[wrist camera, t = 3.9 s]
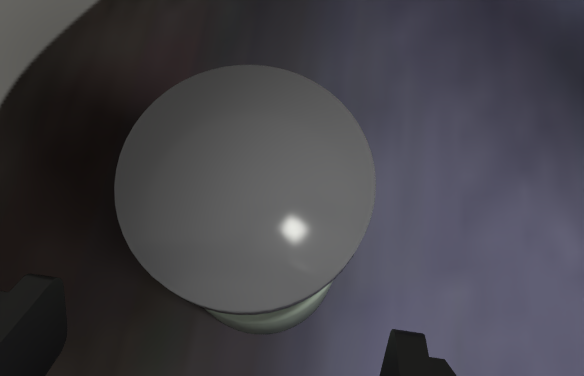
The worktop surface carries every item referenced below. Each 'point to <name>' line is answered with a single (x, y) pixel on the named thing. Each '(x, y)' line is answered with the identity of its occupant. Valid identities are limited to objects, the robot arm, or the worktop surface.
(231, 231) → the jar
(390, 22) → the worktop surface
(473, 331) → the worktop surface
